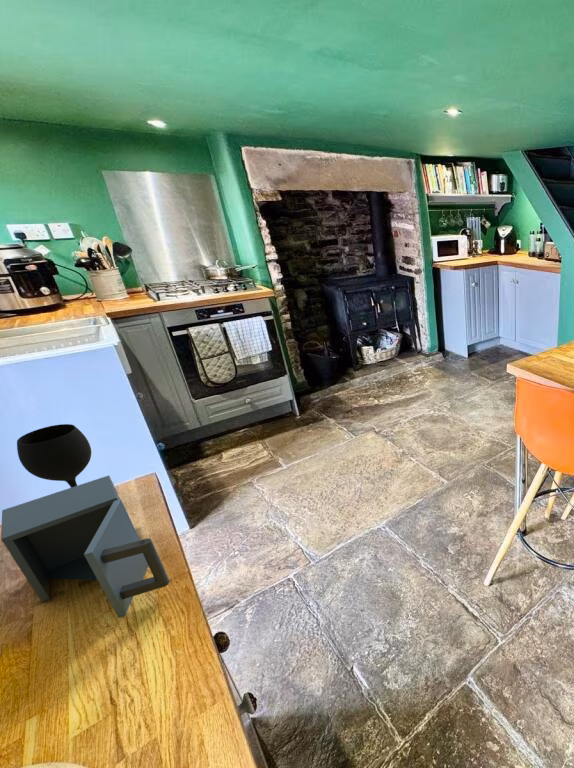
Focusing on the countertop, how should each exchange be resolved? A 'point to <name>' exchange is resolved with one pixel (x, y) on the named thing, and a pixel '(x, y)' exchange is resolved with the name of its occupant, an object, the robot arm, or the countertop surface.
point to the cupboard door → (123, 560)
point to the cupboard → (57, 532)
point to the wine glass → (55, 453)
